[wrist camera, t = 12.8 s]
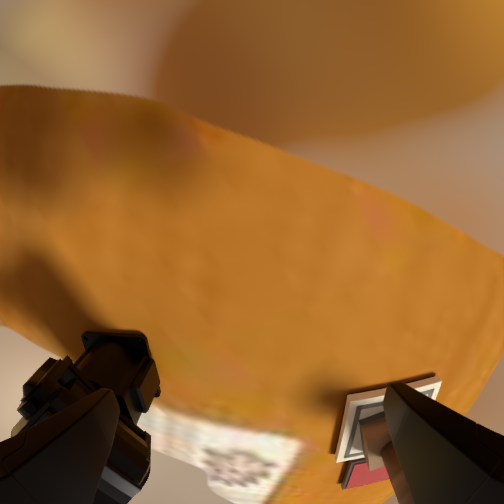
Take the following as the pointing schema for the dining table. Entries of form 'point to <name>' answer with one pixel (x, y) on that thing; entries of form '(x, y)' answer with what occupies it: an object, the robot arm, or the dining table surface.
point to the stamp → (383, 453)
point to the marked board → (368, 406)
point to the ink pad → (362, 474)
